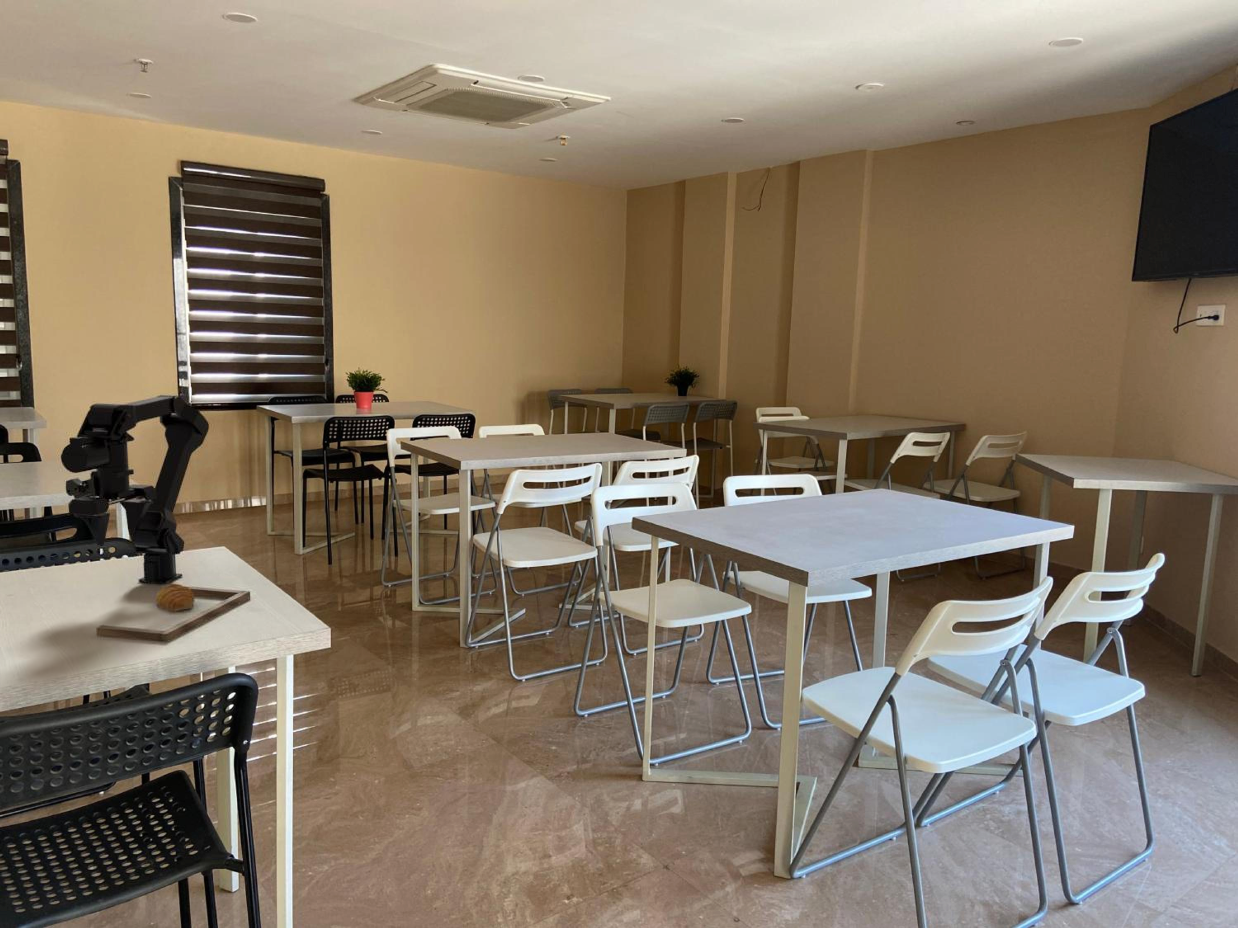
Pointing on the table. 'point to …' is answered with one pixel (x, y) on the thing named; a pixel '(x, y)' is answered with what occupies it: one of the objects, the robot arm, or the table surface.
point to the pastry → (175, 597)
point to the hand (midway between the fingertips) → (116, 540)
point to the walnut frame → (184, 626)
